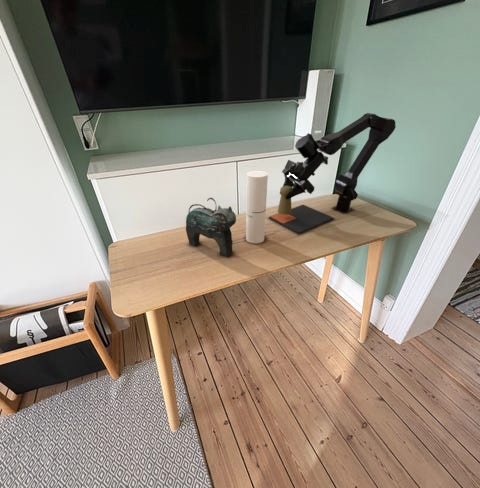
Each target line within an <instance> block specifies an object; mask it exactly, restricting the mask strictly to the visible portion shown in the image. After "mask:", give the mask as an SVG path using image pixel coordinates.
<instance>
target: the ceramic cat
mask: <svg viewBox="0 0 480 488" xmlns="http://www.w3.org/2000/svg"><path fill="white" fill-rule="evenodd" d="M209 200H211V201H213V202H214V204H215V205H217V201H216V199H214V198H213V197H209V198H208V199H207V202H209ZM194 206H196V207H195V208H193V207H194ZM197 206H199V207H197ZM192 208H193V209H192ZM191 209H192V210H191ZM236 222H237V215H236V213H235V212H234V211H233V209H232V206H231V205H230V206H228V207H227V208H226V207H224V208H222V206H220V204H219V205H218V206H215V209H211V208H209V207H205V205H202V204H199V203H194V204H191V205H190V206H189V208H188V213H187V215H186V217H185V231H186V237H187V241H188V243H189V245H191V246H193V247H197V246H198V245H199V244H200V236H203V237H205V238H208V239H212V240H214V241H215V243H216V244H217V246H218V249H219V255H220V256H224V257H226V258H228V257H229V256H231V255H232V254H233V236H232V230H231V227H233V226H234V225H235V224H236Z"/></svg>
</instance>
